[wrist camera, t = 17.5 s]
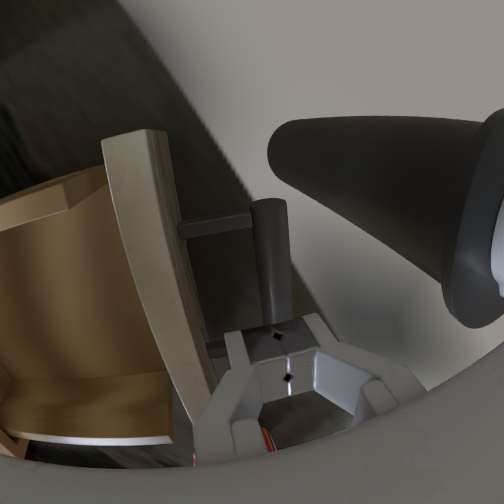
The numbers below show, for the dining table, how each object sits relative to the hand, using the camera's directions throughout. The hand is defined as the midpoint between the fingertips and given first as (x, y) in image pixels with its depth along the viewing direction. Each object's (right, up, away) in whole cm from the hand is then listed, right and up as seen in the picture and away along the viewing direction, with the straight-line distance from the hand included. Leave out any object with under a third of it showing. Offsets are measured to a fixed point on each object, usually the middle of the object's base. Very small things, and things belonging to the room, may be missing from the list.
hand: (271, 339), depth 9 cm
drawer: (-9, +1, +4) cm, 10 cm away
